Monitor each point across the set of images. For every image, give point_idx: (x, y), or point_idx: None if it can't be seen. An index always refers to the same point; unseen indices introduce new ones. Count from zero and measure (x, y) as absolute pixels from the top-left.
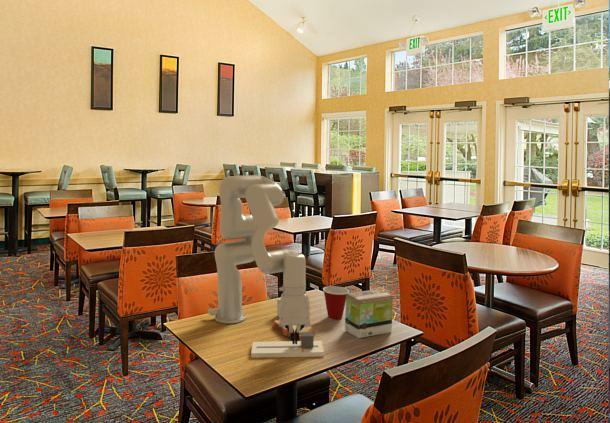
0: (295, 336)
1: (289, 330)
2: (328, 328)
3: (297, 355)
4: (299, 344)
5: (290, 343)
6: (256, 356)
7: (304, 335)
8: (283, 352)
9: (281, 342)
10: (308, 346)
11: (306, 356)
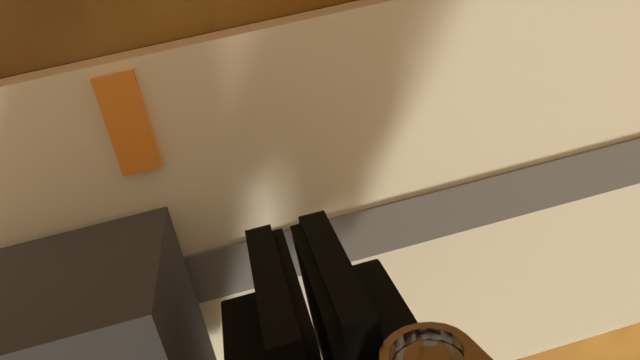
0: (293, 297)
1: (480, 351)
2: None
3: (197, 38)
4: None
5: None
6: None
7: None
8: (421, 4)
9: (486, 338)
10: (45, 244)
11: (59, 67)
